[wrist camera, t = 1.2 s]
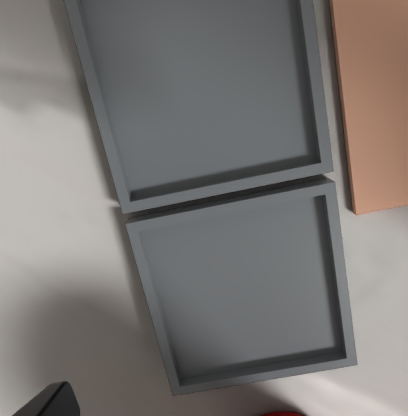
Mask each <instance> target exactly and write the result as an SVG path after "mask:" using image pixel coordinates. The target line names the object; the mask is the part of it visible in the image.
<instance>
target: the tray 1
mask: <svg viewBox="0 0 408 416" xmlns="http://www.w3.org/2000/svg"><path fill="white" fill-rule="evenodd" d="M64 4H65V7H66V11H67V15H68V18H69V22H70V25H71V29H72V33H73V36H74V40H75V43H76V47H77V51H78V54H79V58H80V62H81V65H82V69H83V72H84V76H85V80H86V83H87V87H88V91H89V94H90V98H91V101H92V105H93V109H94V112H95V116H96V119H97V123H98V127H99V130H100V134H101V138H102V141H103V145H104V148H105V152H106V156H107V159H108V163H109V167H110V170H111V174H112V177H113V181H114V185H115V188H116V192H117V195H118V199H119V203H120V206H121V210H122V214H126V213H131V212H136V211H141V210H145V209H150V208H155V207H160V206H165V205H170V204H175V203H180V202H185V201H190V200H195V199H200V198H205V197H210V196H215V195H219V194H224V193H229V192H234V191H239V190H244V189H249V188H254V187H259V186H264V185H269V184H274V183H279V182H284V181H289V180H293V179H298V178H303V177H308V176H313V175H318V174H323V173H328V172H333V171H334V169H333V161H332V153H331V145H330V137H329V129H328V121H327V112H326V104H325V96H324V88H323V80H322V72H321V64H320V56H319V47H318V39H317V31H316V23H315V15H314V7H313V0H64Z"/></svg>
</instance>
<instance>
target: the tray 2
mask: <svg viewBox="0 0 408 416" xmlns="http://www.w3.org/2000/svg"><path fill="white" fill-rule="evenodd" d="M126 228H127V232H128V235H129V239H130V243H131V246H132V250H133V253H134V257H135V261H136V264H137V268H138V271H139V275H140V279H141V282H142V286H143V290H144V293H145V297H146V300H147V304H148V308H149V311H150V315H151V319H152V322H153V326H154V329H155V333H156V337H157V340H158V344H159V348H160V351H161V355H162V358H163V362H164V366H165V369H166V373H167V376H168V380H169V384H170V387H171V391H172V395H173V396H176V395H182V394H188V393H194V392H200V391H206V390H212V389H218V388H224V387H230V386H236V385H242V384H248V383H254V382H259V381H265V380H271V379H277V378H283V377H289V376H295V375H301V374H307V373H313V372H319V371H325V370H331V369H337V368H343V367H349V366H355V365H357V356H356V348H355V340H354V332H353V324H352V316H351V308H350V299H349V291H348V283H347V275H346V267H345V259H344V251H343V243H342V234H341V226H340V218H339V210H338V202H337V194H336V186H335V182H334V181H332V180H331V179H329V178H326V179H321V180H316V181H311V182H306V183H302V184H297V185H292V186H287V187H282V188H277V189H272V190H267V191H262V192H257V193H252V194H247V195H242V196H237V197H232V198H227V199H222V200H217V201H212V202H207V203H202V204H197V205H192V206H187V207H183V208H178V209H173V210H168V211H163V212H158V213H153V214H148V215H143V216H138V217H133V218H129V220H128V221H127V222H126Z"/></svg>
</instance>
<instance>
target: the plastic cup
mask: <svg viewBox="0 0 408 416" xmlns="http://www.w3.org/2000/svg"><path fill="white" fill-rule="evenodd" d="M261 416H303V415H300V414H298V413H296V412H280V411H275V412H272V413H268V414H264V415H261Z"/></svg>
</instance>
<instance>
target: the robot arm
mask: <svg viewBox="0 0 408 416" xmlns="http://www.w3.org/2000/svg"><path fill="white" fill-rule="evenodd" d="M12 416H80V408H79V405H78V403H77V400H76V397H75V395H74V392H73V390H72V387H71V385H70V383H69V382H67V381H62V382H57V383H53V384H50V385H49V386H47V387H46V388H45V389H44V390H43V391H41V392H40V393H39V394H38V395H37V396H35V397H34V398H33V399H32V400H30V401H29V402H28V403H27V404H26V405H24V406H23V407H22V408H21V409H20V410H18V411H17V412H16V413H15V414H13V415H12Z"/></svg>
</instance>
